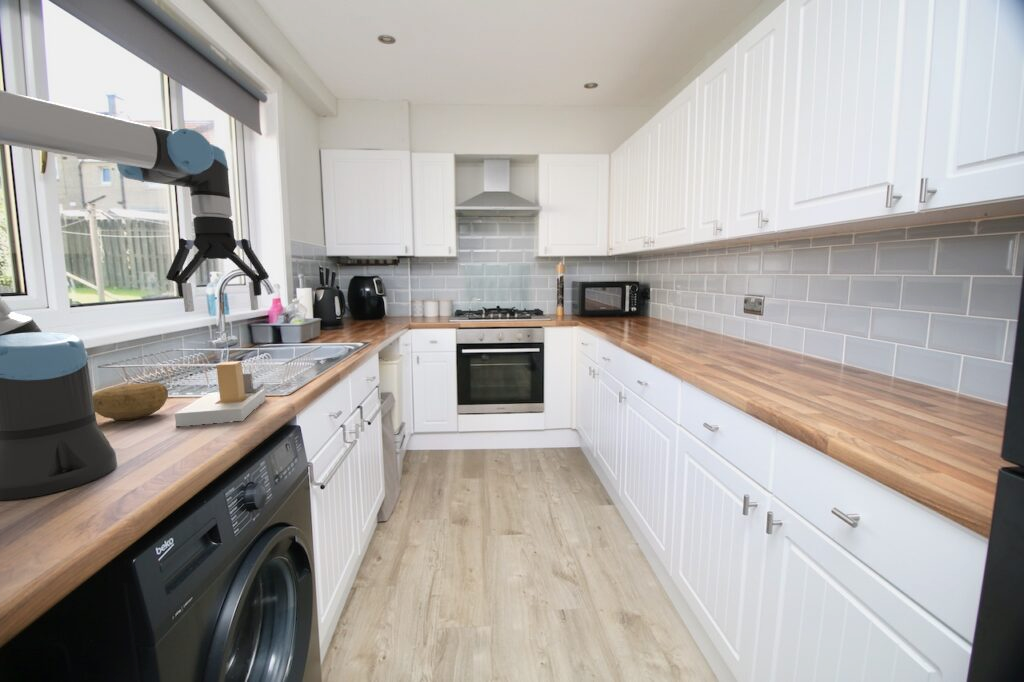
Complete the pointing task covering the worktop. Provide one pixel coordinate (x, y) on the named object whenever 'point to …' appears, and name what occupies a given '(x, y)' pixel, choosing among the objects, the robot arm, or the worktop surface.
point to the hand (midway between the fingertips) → (222, 310)
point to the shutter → (250, 383)
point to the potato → (130, 400)
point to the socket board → (218, 409)
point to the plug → (230, 382)
